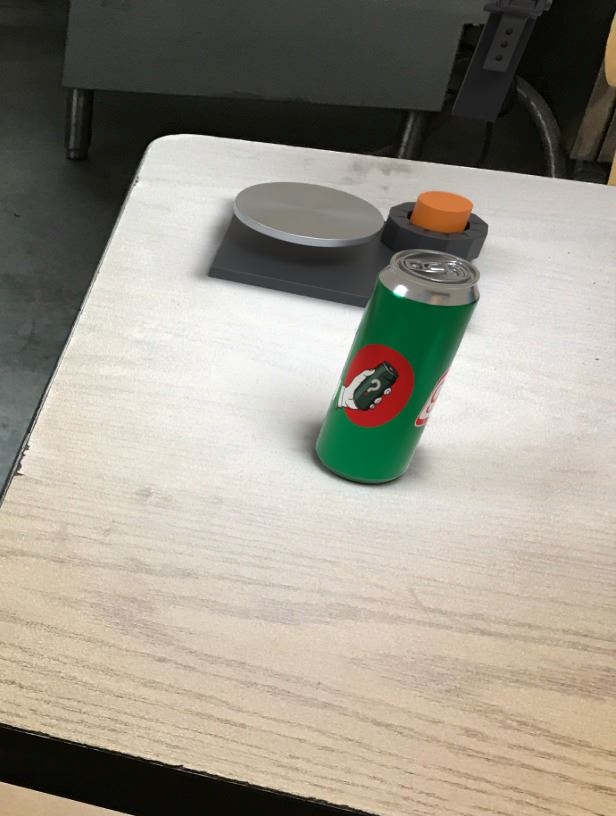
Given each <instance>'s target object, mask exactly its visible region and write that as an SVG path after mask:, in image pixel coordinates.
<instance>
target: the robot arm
mask: <svg viewBox="0 0 616 816" xmlns="http://www.w3.org/2000/svg"><path fill="white" fill-rule="evenodd" d="M552 4H553V0H484V2H483V5H482V7H481V12H482V13H488V16H487V18H486V20H485V23H484V26H483V28H482V31H481V34H480V36H479V38H478V42H477V43H476V46H475V49H474V52H473V55H472V57H471V60H470V63H469V64H468V67H467V70H466V73H465V74H464V78H463V80H462V83H461V86H460V88H459V91H458V93H457V96H456V98H455V101H454V104H453V106H452V110H451V116H453V117H459V118H464V119H470V120H477V121H483V122H488V123H493V124H495V123H496V121H497V119H498V115H499V114H500V111H501V108H502V106H503V104H504V101H505V98H506V96H507V94H508V91H509V89H510V86H511V84H512V81H513V80H514V76H515V74H516V71H517V69H518V67H519V64H520V62H521V59H522V57H523V54H524V52H525V49H526V47H527V44H528V42H529V40H530V37H531V35H532V33H533V30H534V27H535V26H536V22H537V20H538V17H540V16H541V15H543V13H544V11H549V10H550V9H551V6H552Z"/></svg>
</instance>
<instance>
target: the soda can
mask: <svg viewBox="0 0 616 816" xmlns="http://www.w3.org/2000/svg"><path fill="white" fill-rule="evenodd" d="M480 278H481V273H480V270H479V269H478V268H477V267H476V266H475V265H474V264H472V263H471V261H466V260H464V259H462V258H460V257H457V256H454V255H451V254H448V253H443V252H439V251H433V250H423V249H412V250H405V251H401V252H398V253H396V254H395V255H394V256H393V257H392V258H391V261H390V264H389V265H388V266H387V267H385V268H384V269H383V270H382V271H380V272H379V273H378V275H377V277H376V280H375V283H374V285H373V288H372V291H371V294H370V296H369V299H368V302H367V305H366V307H365V308H364V310H363V313H362V316H361V317H360V321H359V324H358V327H357V329H356V331H355V335H354V338H353V340H352V343H351V345H350V349H349V352H348V354H347V357H346V359H345V362H344V365H343V368H342V371H341V373H340V376H339V379H338V381H337V384H336V387H335V390H334V393H333V396H332V398H331V401H330V403H329V406H328V409H327V411H326V415H325V417H324V420H323V422H322V425H321V428H320V430H319V434H318V436H317V439H316V443H315V446H314V447H315V452H316V454H317V456H318V460H320V462H321V464H322V466H324V467H325V468H326V469H327V470H328V471H330V472H331V473H332V474H334V475H336V476H337V477H339V478H343V479H345V480H348V481H352V482H356V483H359V484H367V485H369V484H370V485H377V484H383V483H387V482H390V481H392V480H396V479H398V478H399V477H401V476H402V475H404V474H405V473H406V472H407V471H408V469H409V466H410V464H411V462H412V460H413V457H414V455H415V452H416V450H417V448H418V445H419V443H420V440H421V438H422V435H423V434H424V431H425V429H426V426H427V424H428V422H429V419H430V417H431V414H432V412H433V409H434V408H435V405H436V403H437V400H438V398H439V396H440V394H441V391H442V389H443V386H444V384H445V381H446V380H447V377H448V374H449V372H450V369H451V367H452V365H453V362H454V360H455V358H456V355H457V352H458V350H459V348H460V346H461V343H462V341H463V339H464V337H465V334H466V332H467V329H468V327H469V325H470V322H471V320H472V318H473V315H474V313H475V310H476V308H477V305H478V304H479V301H480V299H481V292H480V289H479V285H478V283H479V281H480Z"/></svg>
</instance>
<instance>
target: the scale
mask: <svg viewBox="0 0 616 816" xmlns="http://www.w3.org/2000/svg"><path fill="white" fill-rule="evenodd" d="M416 202H417V201H405V202H402V203H399V204H397V205H393V206H391V207H390V209H389V210H388V211H389V212H388V214H387V217H386V219H385V220H384V226H383V228H382V231H381V233H380V235H379V236H378V237H377V238H375V239H374V240H372V241H370V242H368V243H365V244H362V245H357V246H350V247H316V246H307V245H301V244H295V243H291V242H287V241H283V240H279V239H276V238H273V237H270V236H267V235H265V234H262V233H260V232H258V231H256V230H254V229H252V228H250V227H248V226H247V225H246V224H244V223H243V222H242V221H241V220H240V219H238V217H237V216H236V215H235V212H233V215H232V217H231V220H230V222H229V224H228V226H227V229H226V230H225V232H224V235H223V238H222V240H221V241H220V244H219V246H218V249H217V250H216V253H215V255H214V257H213V260H212V262H211V264H210V267H209V270H208V274H207V277H209V278H213V279H218V280H222V281H227V282H233V283H237V284H241V285H248V286H253V287H257V288H262V289H268V290H272V291H277V292H282V293H287V294H292V295H296V296H303V297H306V298H311V299H317V300H322V301H327V302H332V303H336V304H342V305H346V306H352V307H357V308H361V309H365V307H366V305H367V302H368V299H369V296H370V294H371V291H372V288H373V285H374V283H375V280H376V277H377V275H378V273H379V272H380V271H382V270H383V269H384V268H385V267H387V266H388V265H389V264H390V261H391V258H392V257H393V256H394V255H395V254H396V253H398V252H401V251H405V250H412V249H423V250H433V251H439V252H443V253H448V254H451V255H454V256H457V257H460V258H462V259H464V260H466V261H468V262H471V261H473V260H476V259H478V258H479V256H480V254H481V251H482V250H483V249H482V248H483V246H484V244H485V242H486V239H487V237H488V235H489V224H488V223H487V222H486V221H485V220H483V219H482V218H481V217H480V216H479V215H477V214H476V213H473V212H471V214H470V217H469V219H468V222H467V224H466V227H465V229H464V231H463V232H451V233H445V232H440V231H434V230H428V229H426V228H423V227H421V226H418V225H415V224H413V223H412V222H411V221H410V218H411V215H412V213H413V210H414V207H415V205H416Z"/></svg>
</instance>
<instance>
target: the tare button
mask: <svg viewBox="0 0 616 816" xmlns="http://www.w3.org/2000/svg"><path fill="white" fill-rule="evenodd" d="M415 202H416V205H415V207H414V210H413V213H412V215H411V218H410V221H411V222H412V223H413V224H415V225H418V226H421V227H423V228H426V229H428V230H434V231H440V232H445V233H451V232H463V231H464V229H465V227H466V224H467V222H468V219H469V217H470V214H471V213H472V211H473V209H474V203H473V202H472V201H471V200H470V199H468V198H466V197H465V196H462V195H459V194H457V193H453V192H450V191H449V192H448V191H440V190H431V191H430V190H429V191H424V192H421V193H420V194H419V195H418V197H417V199H416V201H415Z"/></svg>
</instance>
